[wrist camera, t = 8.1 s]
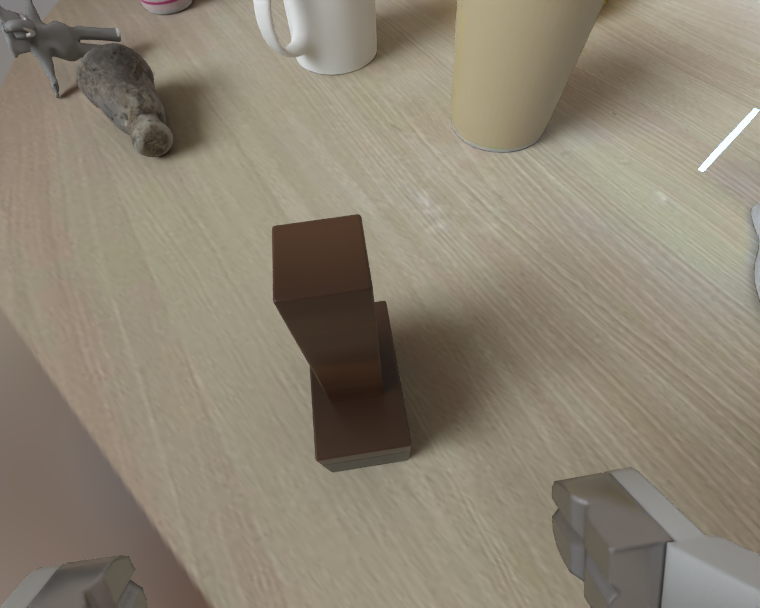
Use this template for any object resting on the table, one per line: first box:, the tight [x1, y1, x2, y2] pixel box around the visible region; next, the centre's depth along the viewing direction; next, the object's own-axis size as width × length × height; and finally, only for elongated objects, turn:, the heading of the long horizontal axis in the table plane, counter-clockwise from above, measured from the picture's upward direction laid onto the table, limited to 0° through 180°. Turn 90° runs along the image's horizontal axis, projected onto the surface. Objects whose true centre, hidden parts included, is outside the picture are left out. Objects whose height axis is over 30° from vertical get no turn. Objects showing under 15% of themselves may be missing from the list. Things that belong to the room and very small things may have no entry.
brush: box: [272, 214, 411, 472], centre depth 16 cm, size 7×4×14 cm, turn 8°
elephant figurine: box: [0, 0, 121, 98], centre depth 36 cm, size 10×6×9 cm
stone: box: [77, 43, 173, 157], centre depth 32 cm, size 10×5×8 cm
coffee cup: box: [451, 0, 605, 152], centre depth 27 cm, size 9×9×12 cm
